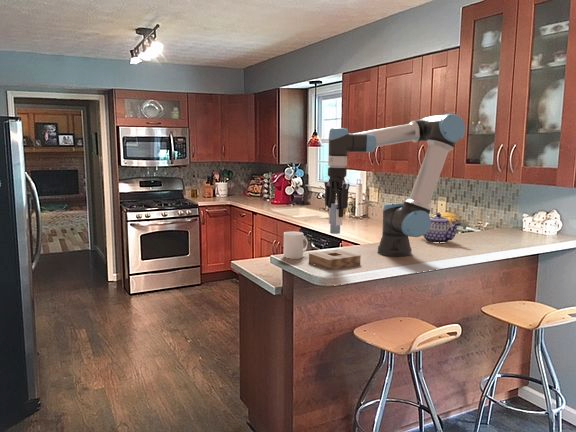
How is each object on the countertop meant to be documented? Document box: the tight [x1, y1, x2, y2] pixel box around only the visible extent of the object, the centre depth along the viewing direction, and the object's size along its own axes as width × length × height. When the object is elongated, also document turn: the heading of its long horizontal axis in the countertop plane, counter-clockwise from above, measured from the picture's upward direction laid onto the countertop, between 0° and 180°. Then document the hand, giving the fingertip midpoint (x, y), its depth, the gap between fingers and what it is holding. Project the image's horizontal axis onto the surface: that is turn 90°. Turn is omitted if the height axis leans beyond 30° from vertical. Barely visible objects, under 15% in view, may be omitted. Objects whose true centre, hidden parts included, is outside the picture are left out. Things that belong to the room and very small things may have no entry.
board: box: [308, 248, 361, 271], centre depth 203 cm, size 16×14×4 cm
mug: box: [283, 231, 309, 260], centre depth 215 cm, size 9×12×11 cm
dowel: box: [329, 202, 341, 235], centre depth 201 cm, size 4×4×12 cm
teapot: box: [422, 212, 461, 243], centre depth 252 cm, size 25×15×15 cm, turn 37°
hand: (335, 224), depth 201 cm, fingers closed on dowel, 4 cm apart
